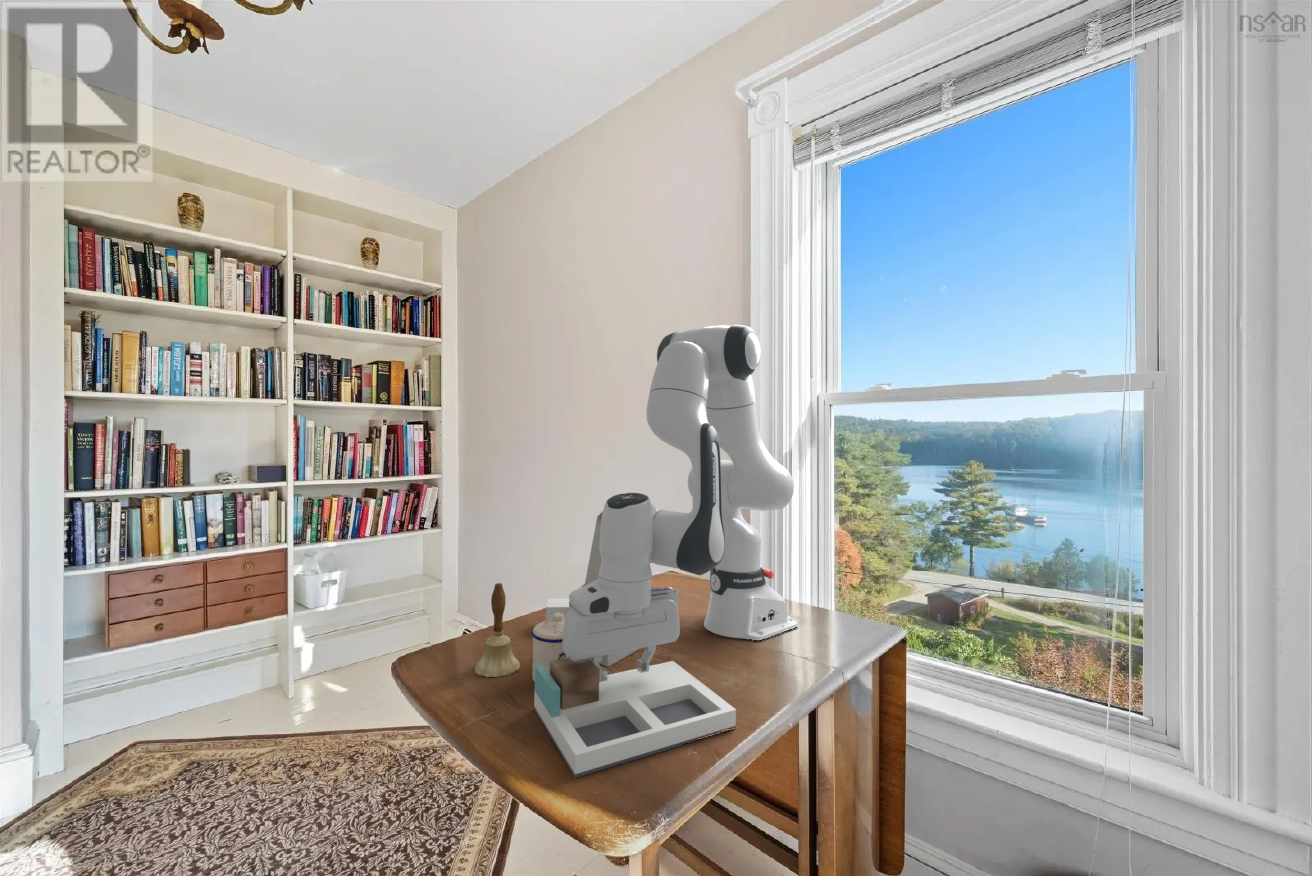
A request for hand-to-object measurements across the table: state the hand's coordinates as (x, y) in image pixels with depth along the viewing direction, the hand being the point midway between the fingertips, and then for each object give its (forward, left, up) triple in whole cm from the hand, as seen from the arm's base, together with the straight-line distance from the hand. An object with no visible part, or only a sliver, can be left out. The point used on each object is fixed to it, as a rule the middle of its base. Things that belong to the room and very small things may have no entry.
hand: (622, 675), depth 88 cm
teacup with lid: (+5, -14, -5) cm, 16 cm away
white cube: (-2, -36, -5) cm, 37 cm away
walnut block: (+8, 0, -2) cm, 9 cm away
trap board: (0, +5, -5) cm, 7 cm away
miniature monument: (-6, -20, -5) cm, 21 cm away
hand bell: (+15, -22, -5) cm, 28 cm away
